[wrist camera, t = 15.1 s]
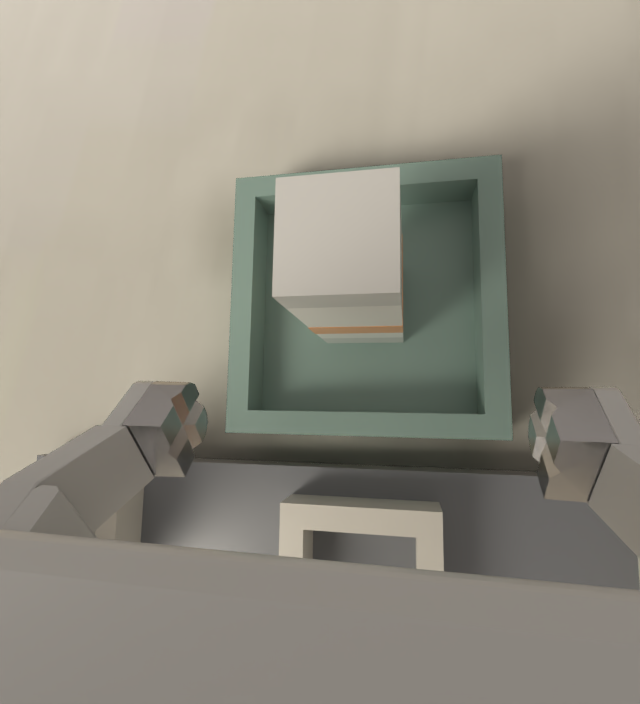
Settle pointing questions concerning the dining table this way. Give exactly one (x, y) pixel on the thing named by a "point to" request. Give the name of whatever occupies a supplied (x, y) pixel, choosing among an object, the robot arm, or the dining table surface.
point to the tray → (418, 322)
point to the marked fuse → (341, 254)
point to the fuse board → (380, 519)
